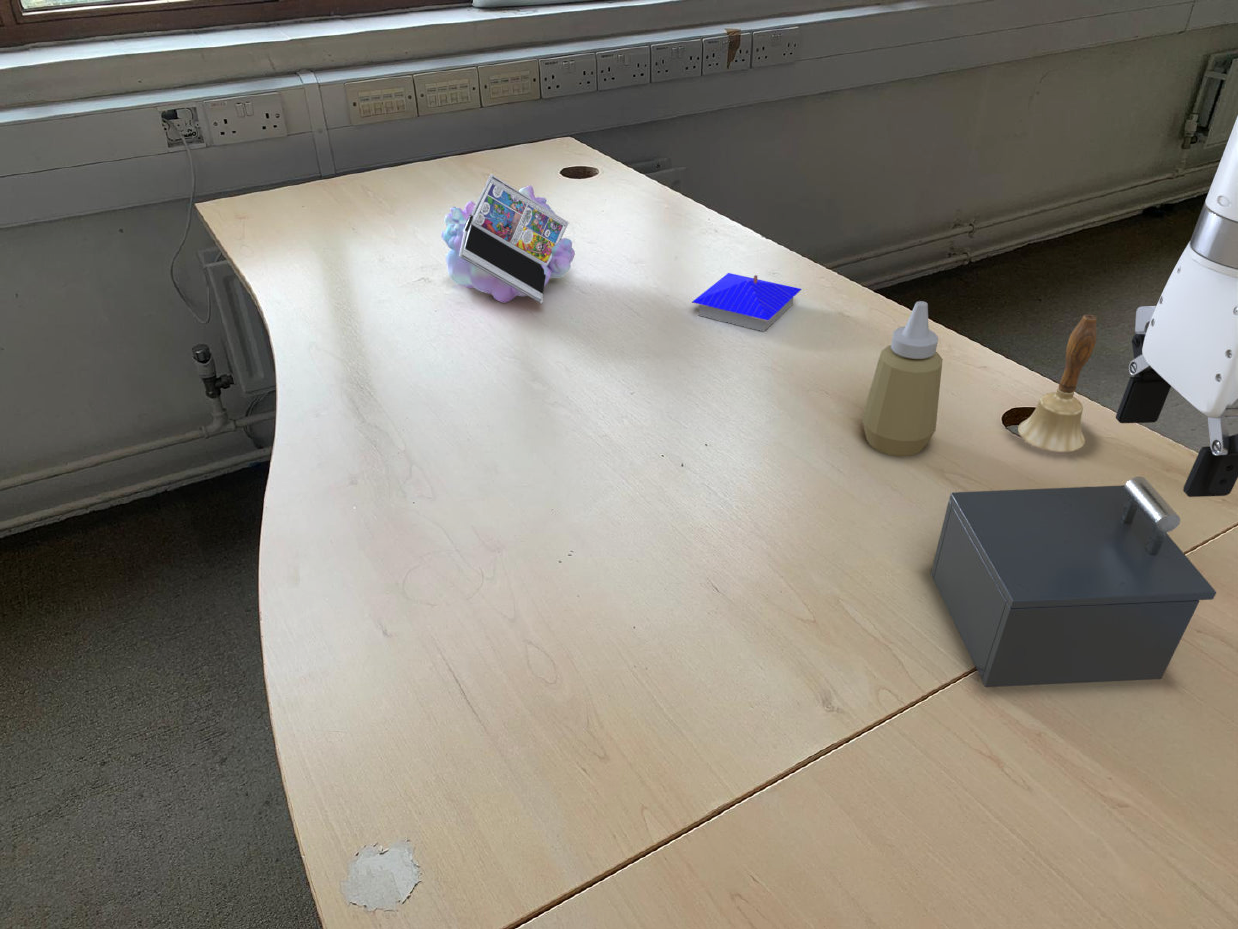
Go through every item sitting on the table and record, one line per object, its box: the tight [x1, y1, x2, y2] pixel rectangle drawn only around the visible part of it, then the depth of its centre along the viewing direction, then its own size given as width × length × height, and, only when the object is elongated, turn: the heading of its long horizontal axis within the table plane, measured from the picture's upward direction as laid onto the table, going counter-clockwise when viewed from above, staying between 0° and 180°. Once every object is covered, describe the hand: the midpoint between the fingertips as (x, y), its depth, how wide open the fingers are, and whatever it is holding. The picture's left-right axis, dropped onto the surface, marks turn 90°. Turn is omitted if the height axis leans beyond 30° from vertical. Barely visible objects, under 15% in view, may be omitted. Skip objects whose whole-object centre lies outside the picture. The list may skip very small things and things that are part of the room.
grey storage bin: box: [930, 499, 1200, 688], centre depth 76 cm, size 15×14×10 cm
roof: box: [691, 272, 802, 332], centre depth 131 cm, size 12×12×5 cm
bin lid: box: [948, 475, 1217, 608], centre depth 72 cm, size 16×14×5 cm
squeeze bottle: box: [861, 300, 943, 458], centre depth 98 cm, size 8×8×18 cm
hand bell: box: [1017, 313, 1098, 453], centre depth 99 cm, size 8×8×16 cm
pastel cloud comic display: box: [440, 173, 576, 304], centre depth 137 cm, size 20×22×18 cm
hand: (1168, 455), depth 69 cm, fingers open, 9 cm apart
